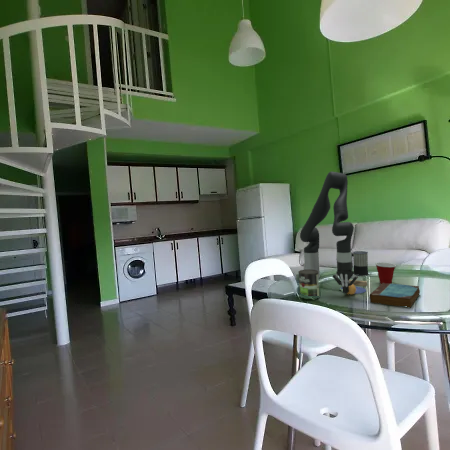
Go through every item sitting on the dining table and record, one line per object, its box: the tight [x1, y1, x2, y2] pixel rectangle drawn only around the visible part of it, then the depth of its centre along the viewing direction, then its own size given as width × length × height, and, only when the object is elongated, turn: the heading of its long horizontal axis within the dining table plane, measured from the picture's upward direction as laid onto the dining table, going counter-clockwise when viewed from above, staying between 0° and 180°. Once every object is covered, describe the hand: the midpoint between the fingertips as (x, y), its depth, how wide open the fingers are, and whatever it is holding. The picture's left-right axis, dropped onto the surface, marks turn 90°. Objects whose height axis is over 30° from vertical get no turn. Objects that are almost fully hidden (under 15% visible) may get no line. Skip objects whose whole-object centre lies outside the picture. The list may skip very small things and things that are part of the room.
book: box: [369, 283, 421, 308], centre depth 161 cm, size 23×18×5 cm
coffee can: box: [298, 269, 320, 297], centre depth 173 cm, size 10×10×14 cm
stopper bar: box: [349, 279, 368, 287], centre depth 189 cm, size 10×2×2 cm, turn 53°
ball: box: [346, 284, 357, 296], centre depth 173 cm, size 6×6×6 cm
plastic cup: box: [375, 262, 397, 285], centre depth 186 cm, size 11×11×12 cm
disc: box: [340, 285, 367, 295], centre depth 181 cm, size 14×14×1 cm
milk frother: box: [351, 250, 369, 277], centre depth 212 cm, size 14×16×15 cm
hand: (345, 293), depth 170 cm, fingers closed
